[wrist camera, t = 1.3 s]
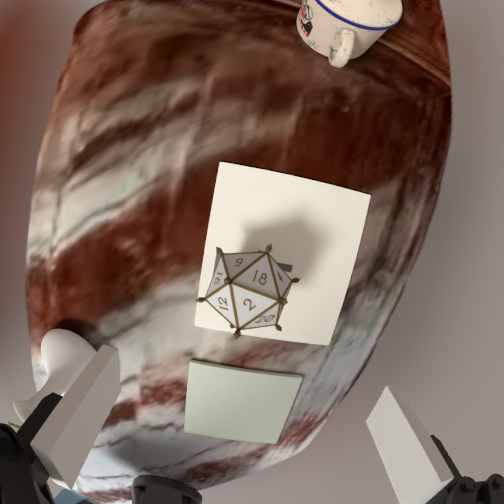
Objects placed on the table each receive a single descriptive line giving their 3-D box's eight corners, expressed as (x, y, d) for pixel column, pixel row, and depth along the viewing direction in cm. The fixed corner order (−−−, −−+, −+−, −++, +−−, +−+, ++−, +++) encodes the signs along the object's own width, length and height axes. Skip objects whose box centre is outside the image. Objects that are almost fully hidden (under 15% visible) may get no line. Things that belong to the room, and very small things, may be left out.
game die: (263, 257, 33) (334, 270, 26) (238, 326, 32) (302, 358, 24) (200, 225, 28) (267, 229, 20) (169, 306, 27) (224, 344, 19)
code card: (328, 344, 32) (328, 345, 32) (194, 324, 32) (194, 325, 31) (370, 195, 28) (370, 195, 28) (220, 161, 27) (219, 161, 27)
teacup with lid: (300, -6, 22) (319, -66, 11) (372, 17, 23) (413, -30, 12) (283, 71, 25) (302, 14, 14) (364, 94, 26) (419, 58, 14)
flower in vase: (62, 307, 31) (-64, 420, 7) (125, 364, 33) (42, 518, 9) (37, 356, 33) (-49, 453, 9) (91, 404, 35) (26, 520, 11)
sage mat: (275, 441, 37) (276, 443, 36) (184, 428, 36) (183, 431, 35) (301, 375, 33) (302, 378, 33) (190, 359, 33) (189, 362, 32)
